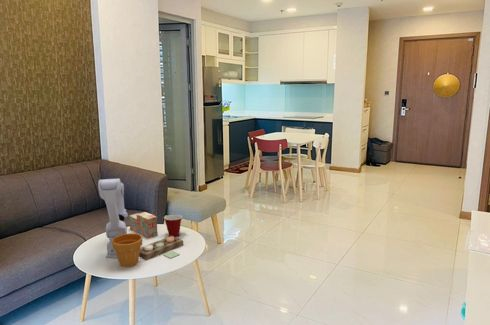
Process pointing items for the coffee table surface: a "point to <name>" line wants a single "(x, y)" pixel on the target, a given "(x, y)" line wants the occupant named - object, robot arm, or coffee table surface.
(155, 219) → the stack of blocks
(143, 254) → the wooden compartment tray
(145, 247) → the cream button
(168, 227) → the plastic cup
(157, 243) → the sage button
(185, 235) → the coffee table surface
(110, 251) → the robot arm
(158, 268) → the coffee table surface
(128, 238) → the flower pot
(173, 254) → the colour card
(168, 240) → the terracotta button
